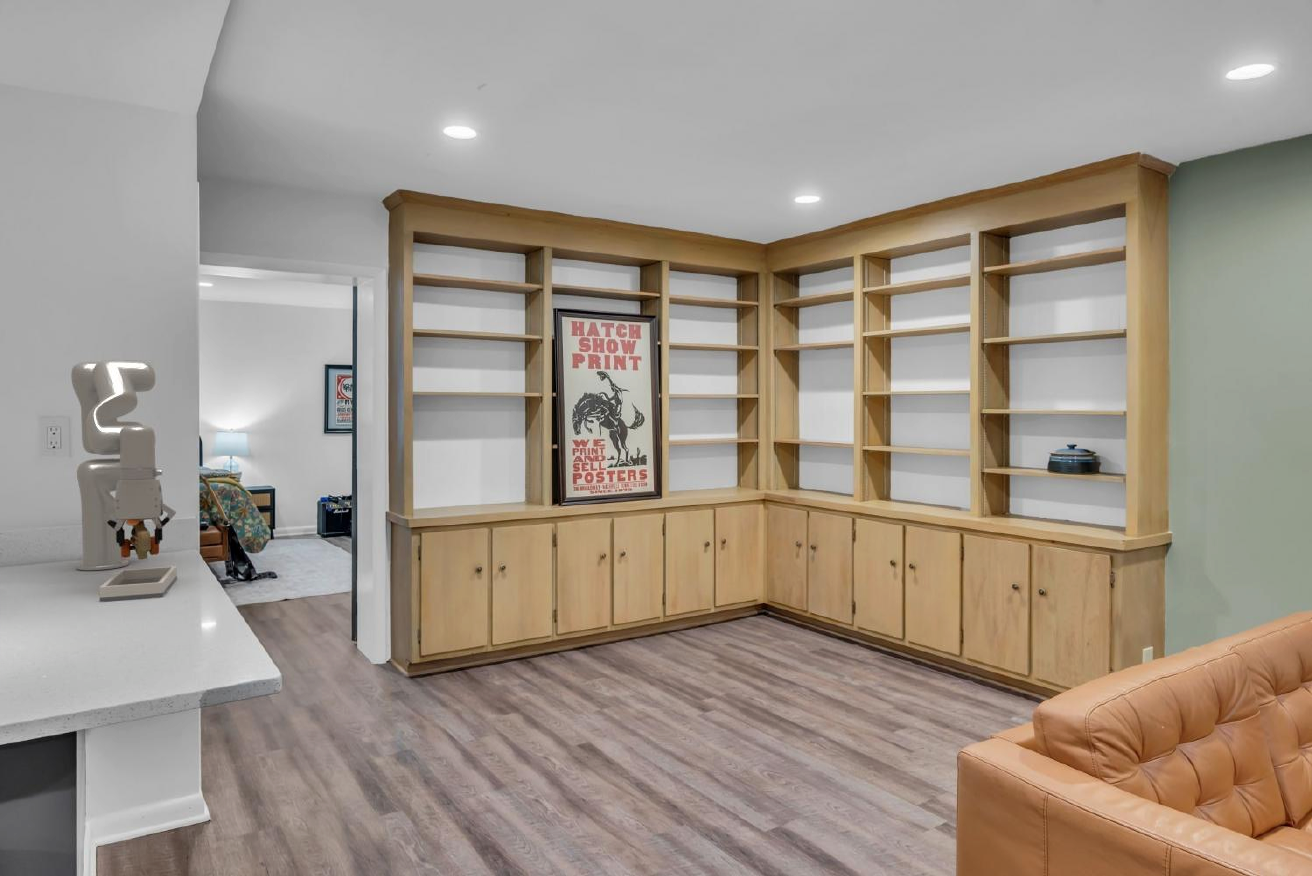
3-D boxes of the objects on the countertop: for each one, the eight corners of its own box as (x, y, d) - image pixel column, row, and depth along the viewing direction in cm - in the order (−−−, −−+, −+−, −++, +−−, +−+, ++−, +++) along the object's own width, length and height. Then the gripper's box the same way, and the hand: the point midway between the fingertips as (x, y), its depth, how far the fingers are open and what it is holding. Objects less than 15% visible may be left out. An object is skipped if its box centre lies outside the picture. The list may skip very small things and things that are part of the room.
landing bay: (120, 583, 214) (120, 570, 214) (176, 579, 220) (176, 566, 219) (99, 601, 193) (99, 587, 193) (162, 596, 198) (162, 582, 198)
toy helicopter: (156, 552, 216) (155, 501, 216) (167, 564, 200) (166, 508, 200) (119, 556, 211) (118, 503, 211) (128, 568, 195) (126, 511, 194)
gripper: (179, 473, 212) (181, 540, 213) (100, 475, 206) (102, 545, 206) (175, 474, 205) (176, 544, 206) (93, 477, 199) (95, 549, 199)
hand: (139, 544), depth 206 cm, fingers closed on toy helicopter, 7 cm apart
